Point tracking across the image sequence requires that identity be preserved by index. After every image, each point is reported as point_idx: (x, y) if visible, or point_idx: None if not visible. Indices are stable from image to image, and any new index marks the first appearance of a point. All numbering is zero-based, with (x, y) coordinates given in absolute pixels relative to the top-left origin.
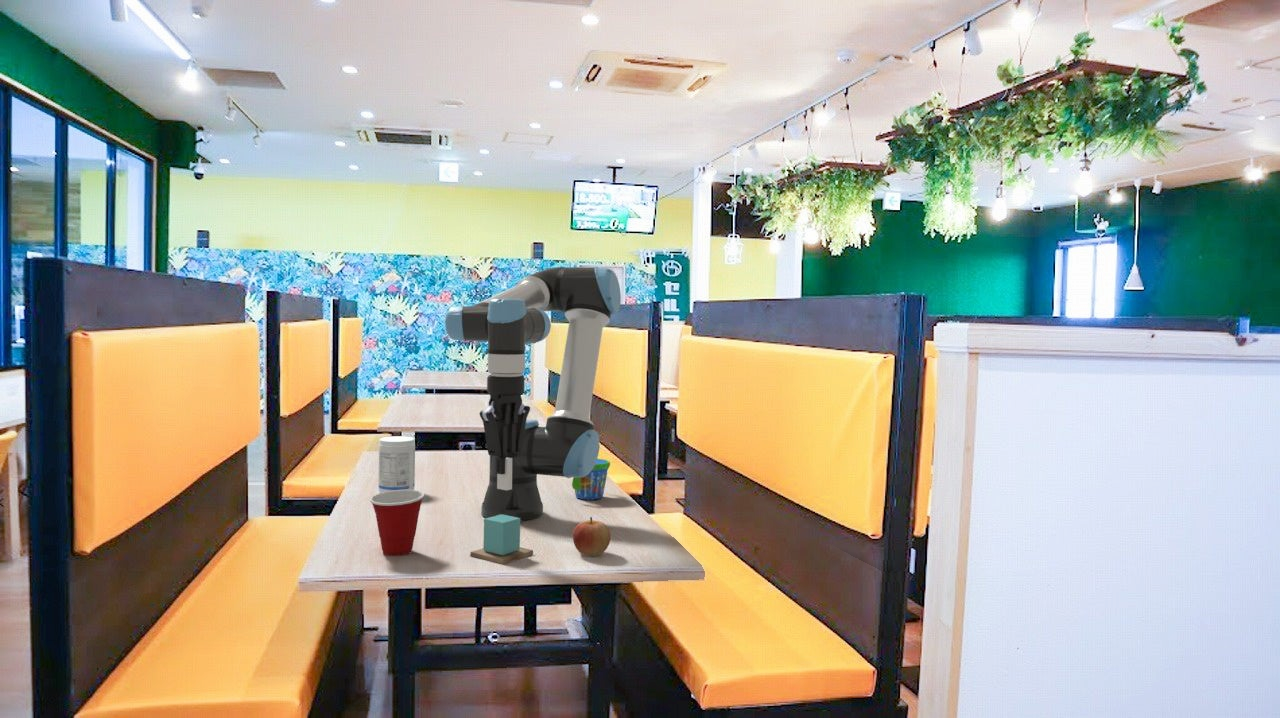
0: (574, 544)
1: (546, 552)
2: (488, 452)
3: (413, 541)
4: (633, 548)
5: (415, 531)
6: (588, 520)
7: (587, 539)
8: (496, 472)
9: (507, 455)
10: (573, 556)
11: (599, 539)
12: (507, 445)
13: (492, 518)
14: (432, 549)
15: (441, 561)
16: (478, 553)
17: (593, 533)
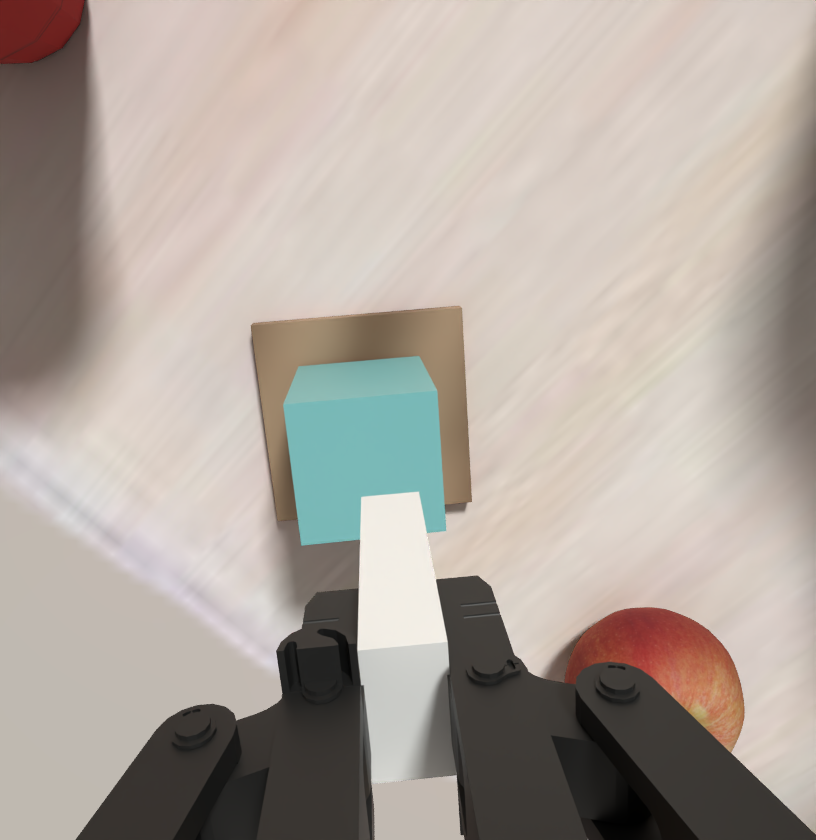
0: (579, 644)
1: (527, 514)
2: (145, 752)
3: (50, 36)
4: (786, 698)
5: (25, 37)
6: (702, 707)
7: None
8: (310, 602)
9: (451, 729)
10: (553, 622)
11: None
12: (470, 835)
13: (327, 430)
14: (185, 86)
15: (99, 293)
16: (263, 371)
17: None
